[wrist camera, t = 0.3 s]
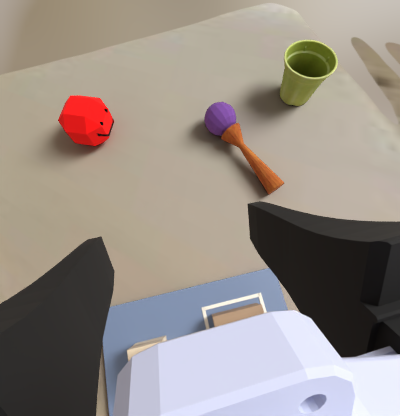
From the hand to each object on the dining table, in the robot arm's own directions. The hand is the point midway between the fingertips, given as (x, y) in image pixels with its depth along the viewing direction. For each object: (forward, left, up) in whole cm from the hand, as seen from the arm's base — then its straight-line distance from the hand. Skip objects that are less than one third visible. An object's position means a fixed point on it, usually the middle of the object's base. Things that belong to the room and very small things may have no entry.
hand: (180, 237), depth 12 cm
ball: (+31, +13, -29) cm, 45 cm away
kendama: (+20, -14, -29) cm, 38 cm away
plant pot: (+31, -29, -29) cm, 51 cm away
